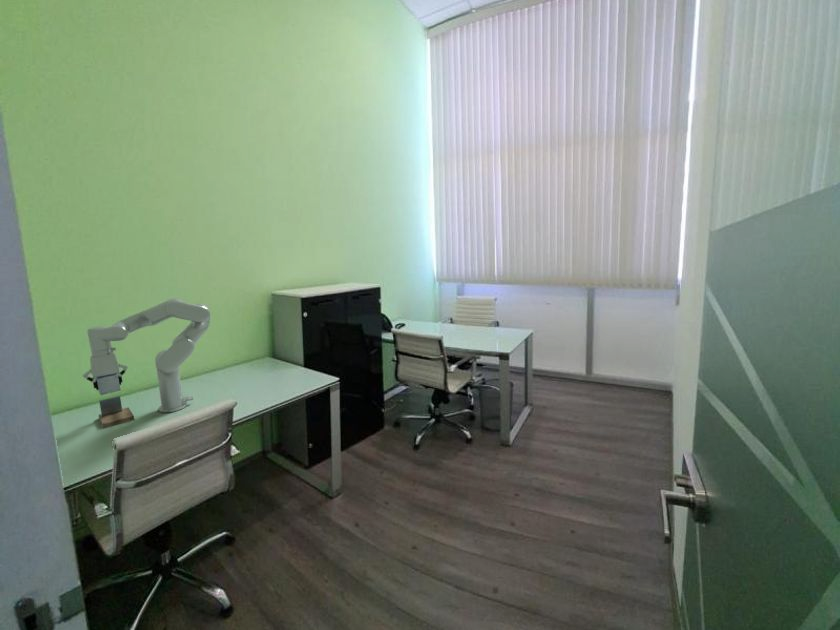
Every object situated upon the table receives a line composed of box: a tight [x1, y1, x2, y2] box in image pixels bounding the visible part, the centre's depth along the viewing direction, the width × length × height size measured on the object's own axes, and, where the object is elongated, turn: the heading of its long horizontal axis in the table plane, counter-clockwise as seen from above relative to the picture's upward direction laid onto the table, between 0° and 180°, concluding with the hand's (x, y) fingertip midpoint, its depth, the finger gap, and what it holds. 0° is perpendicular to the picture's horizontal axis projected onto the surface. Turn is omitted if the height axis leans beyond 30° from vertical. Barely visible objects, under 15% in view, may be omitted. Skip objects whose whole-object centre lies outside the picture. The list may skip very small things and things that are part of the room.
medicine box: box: [96, 374, 122, 396], centre depth 182 cm, size 8×4×9 cm, turn 138°
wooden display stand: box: [98, 395, 135, 429], centre depth 186 cm, size 12×14×10 cm
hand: (108, 386), depth 182 cm, fingers closed on medicine box, 8 cm apart
